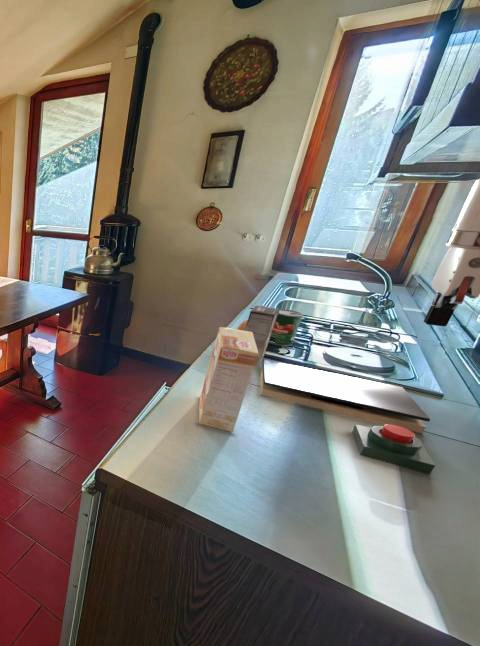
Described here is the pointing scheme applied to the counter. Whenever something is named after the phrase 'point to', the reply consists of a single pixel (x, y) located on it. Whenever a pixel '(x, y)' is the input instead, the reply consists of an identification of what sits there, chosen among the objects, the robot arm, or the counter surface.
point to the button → (397, 433)
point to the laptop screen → (342, 389)
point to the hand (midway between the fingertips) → (434, 324)
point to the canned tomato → (285, 327)
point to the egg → (242, 325)
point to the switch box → (392, 449)
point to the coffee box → (261, 327)
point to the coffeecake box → (227, 378)
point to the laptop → (341, 407)
